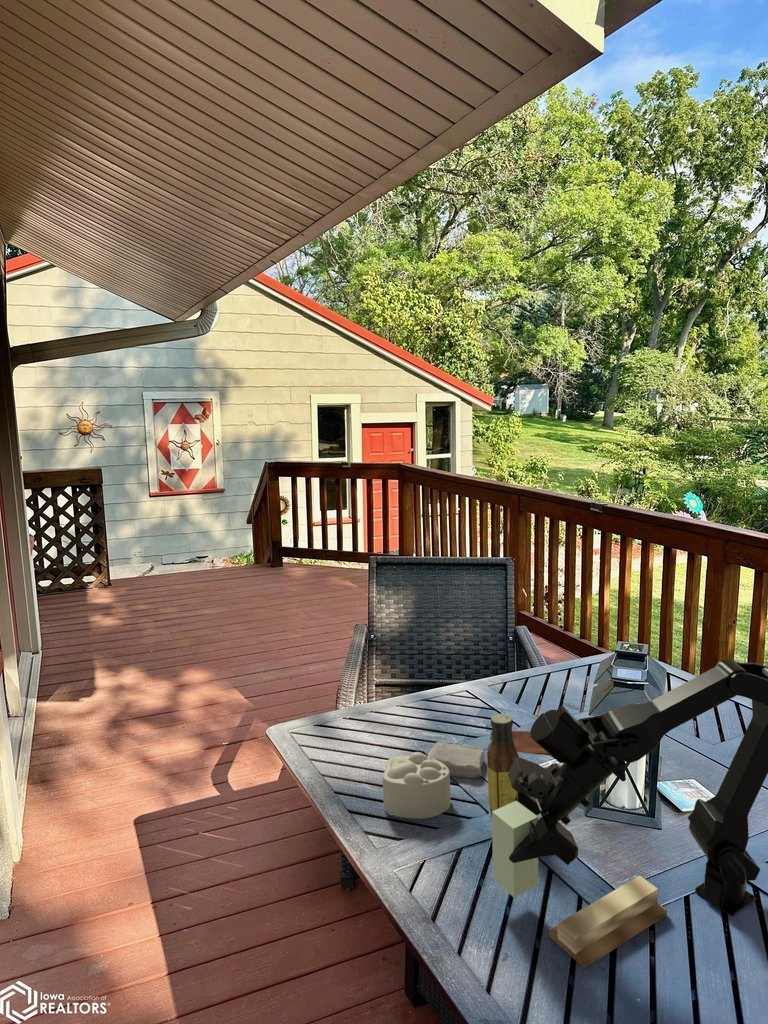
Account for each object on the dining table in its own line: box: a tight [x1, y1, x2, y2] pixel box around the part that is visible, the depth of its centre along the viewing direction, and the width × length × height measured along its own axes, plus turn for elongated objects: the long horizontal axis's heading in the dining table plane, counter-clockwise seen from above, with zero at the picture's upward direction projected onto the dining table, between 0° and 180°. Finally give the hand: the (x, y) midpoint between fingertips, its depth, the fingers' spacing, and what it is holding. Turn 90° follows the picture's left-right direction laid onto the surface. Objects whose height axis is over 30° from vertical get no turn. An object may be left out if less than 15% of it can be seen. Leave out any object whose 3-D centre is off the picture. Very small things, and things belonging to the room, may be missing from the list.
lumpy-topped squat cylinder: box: [382, 751, 451, 819], centre depth 137 cm, size 10×13×9 cm
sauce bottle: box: [486, 713, 520, 816], centre depth 132 cm, size 6×6×20 cm
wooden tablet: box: [489, 730, 550, 755], centre depth 158 cm, size 26×2×10 cm
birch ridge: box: [548, 875, 668, 969], centre depth 106 cm, size 18×7×4 cm, turn 121°
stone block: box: [426, 741, 485, 780], centre depth 151 cm, size 12×5×10 cm
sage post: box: [491, 801, 539, 898], centre depth 109 cm, size 5×5×12 cm
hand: (506, 844), depth 109 cm, fingers closed on sage post, 7 cm apart
